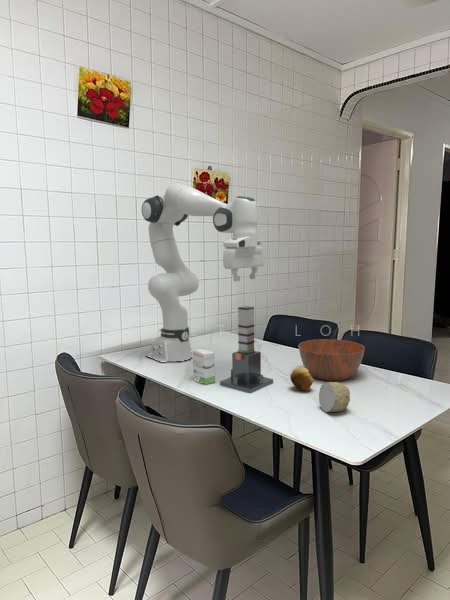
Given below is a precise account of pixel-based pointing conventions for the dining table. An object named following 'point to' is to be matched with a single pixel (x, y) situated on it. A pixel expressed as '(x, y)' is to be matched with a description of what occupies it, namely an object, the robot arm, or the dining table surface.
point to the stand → (246, 373)
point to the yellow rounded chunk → (334, 397)
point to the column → (246, 330)
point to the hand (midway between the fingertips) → (244, 280)
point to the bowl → (331, 358)
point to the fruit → (301, 378)
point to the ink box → (203, 366)
